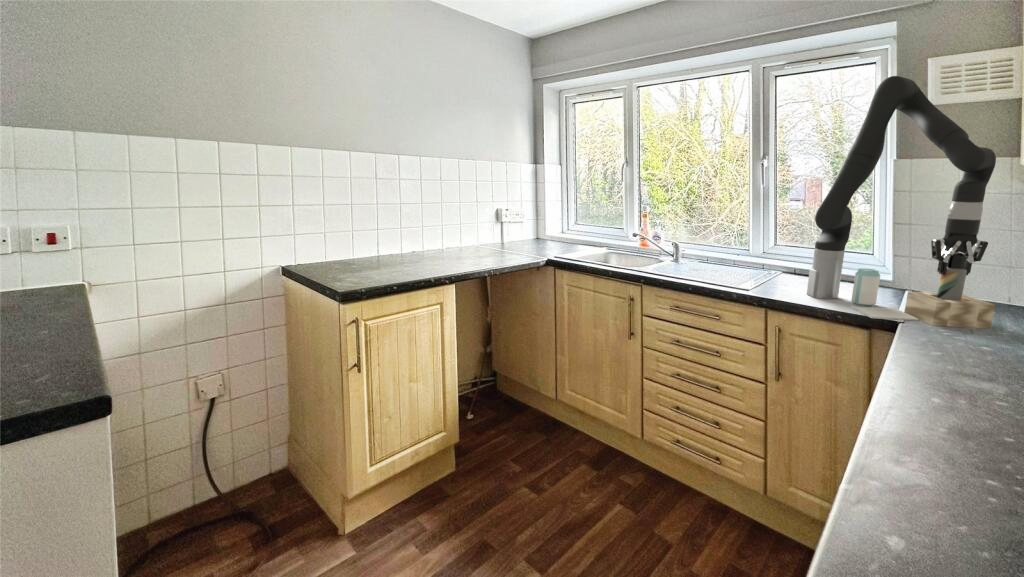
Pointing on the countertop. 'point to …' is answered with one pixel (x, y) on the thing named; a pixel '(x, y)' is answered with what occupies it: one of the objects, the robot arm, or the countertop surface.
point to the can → (865, 287)
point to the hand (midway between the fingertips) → (953, 274)
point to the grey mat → (885, 313)
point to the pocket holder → (949, 310)
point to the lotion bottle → (953, 278)
